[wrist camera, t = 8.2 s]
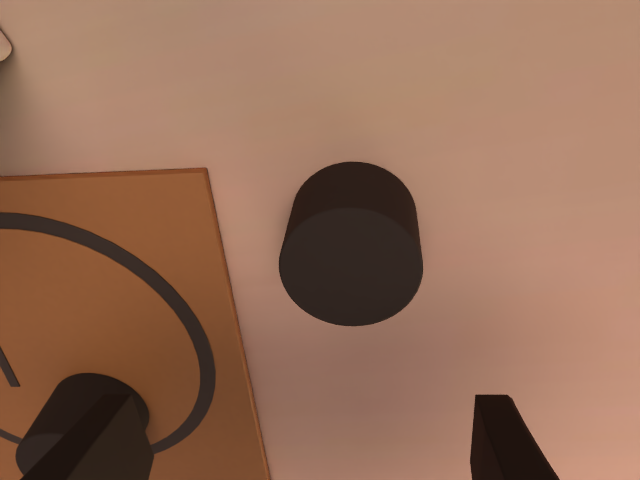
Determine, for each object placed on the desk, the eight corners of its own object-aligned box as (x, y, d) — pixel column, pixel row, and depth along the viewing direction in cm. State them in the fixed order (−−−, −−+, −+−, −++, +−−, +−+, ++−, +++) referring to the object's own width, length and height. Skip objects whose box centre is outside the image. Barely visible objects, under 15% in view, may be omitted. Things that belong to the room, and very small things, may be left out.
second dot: (415, 268, 19) (422, 326, 16) (298, 270, 19) (287, 328, 17) (416, 157, 17) (424, 205, 14) (285, 163, 17) (269, 210, 15)
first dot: (159, 440, 24) (134, 504, 21) (71, 438, 24) (36, 501, 22) (136, 372, 22) (104, 434, 19) (40, 372, 22) (-3, 433, 20)
